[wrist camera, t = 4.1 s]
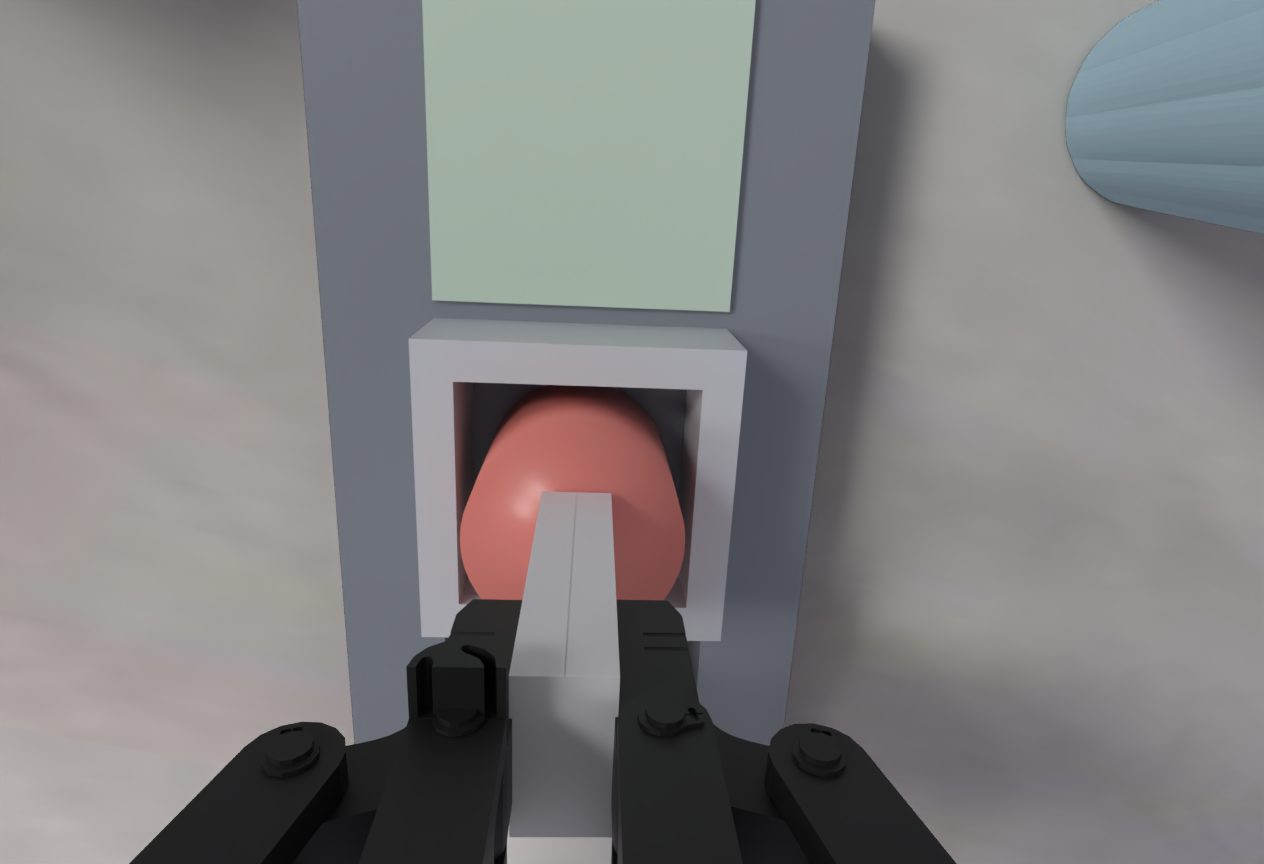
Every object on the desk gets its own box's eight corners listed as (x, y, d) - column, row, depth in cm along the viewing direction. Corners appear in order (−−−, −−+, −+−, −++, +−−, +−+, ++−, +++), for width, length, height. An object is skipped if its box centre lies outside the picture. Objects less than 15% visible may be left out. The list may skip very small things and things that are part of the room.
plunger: (490, 543, 22) (462, 639, 18) (488, 377, 21) (457, 433, 16) (661, 547, 23) (678, 643, 18) (671, 383, 21) (693, 440, 16)
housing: (382, 798, 29) (334, 936, 23) (328, -21, 20) (236, -92, 15) (753, 799, 29) (788, 932, 24) (844, 11, 21) (927, -46, 16)
